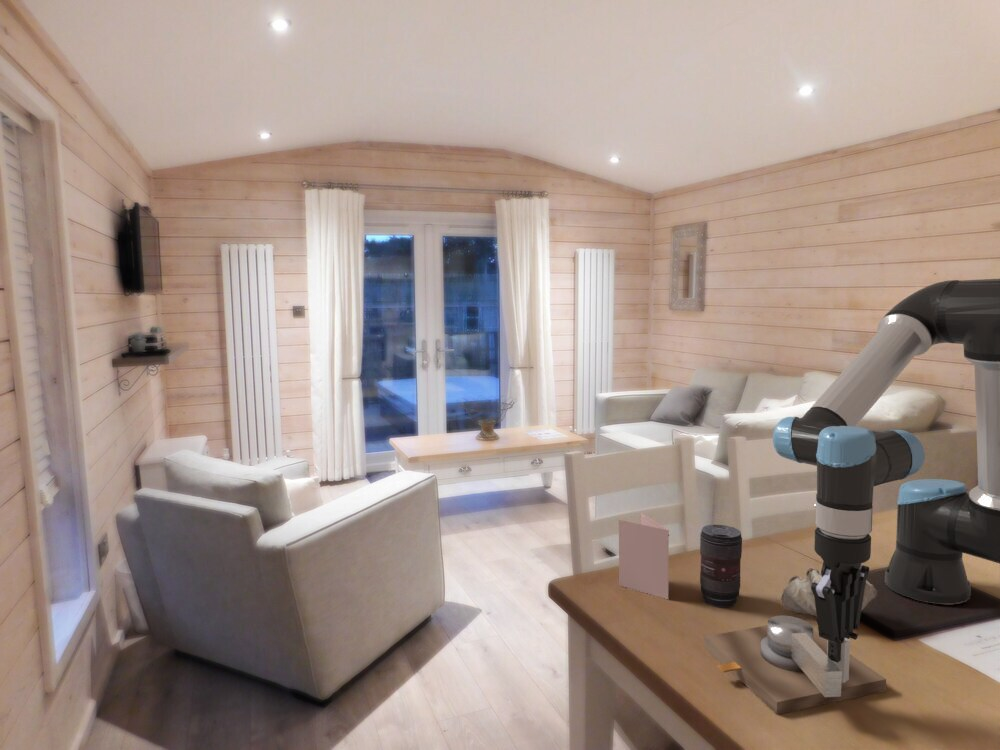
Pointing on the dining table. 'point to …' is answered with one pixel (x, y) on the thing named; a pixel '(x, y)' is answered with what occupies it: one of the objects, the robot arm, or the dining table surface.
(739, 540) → the camera lens
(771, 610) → the dining table surface
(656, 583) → the greeting card
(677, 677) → the dining table surface
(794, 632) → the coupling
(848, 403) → the robot arm
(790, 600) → the seashell
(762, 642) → the mount
